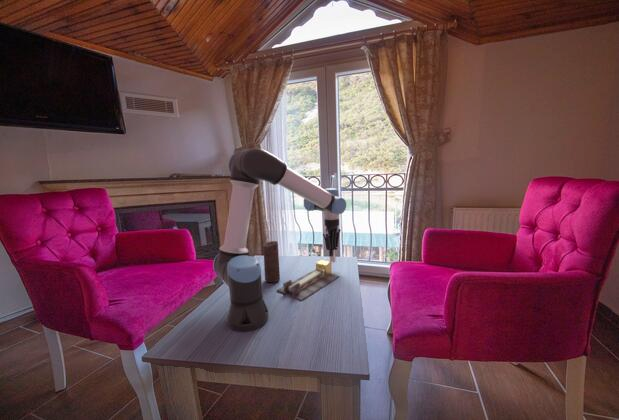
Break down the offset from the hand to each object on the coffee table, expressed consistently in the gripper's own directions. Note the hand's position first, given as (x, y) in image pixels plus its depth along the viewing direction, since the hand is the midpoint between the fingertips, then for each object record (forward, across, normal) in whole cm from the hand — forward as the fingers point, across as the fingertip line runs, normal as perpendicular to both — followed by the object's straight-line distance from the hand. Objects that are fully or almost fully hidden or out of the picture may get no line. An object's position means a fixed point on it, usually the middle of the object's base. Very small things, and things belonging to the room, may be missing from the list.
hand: (332, 261), depth 141 cm
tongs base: (+5, -20, 0) cm, 20 cm away
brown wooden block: (+5, -28, +17) cm, 33 cm away
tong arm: (+3, -22, 0) cm, 23 cm away
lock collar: (+5, -8, 0) cm, 9 cm away
